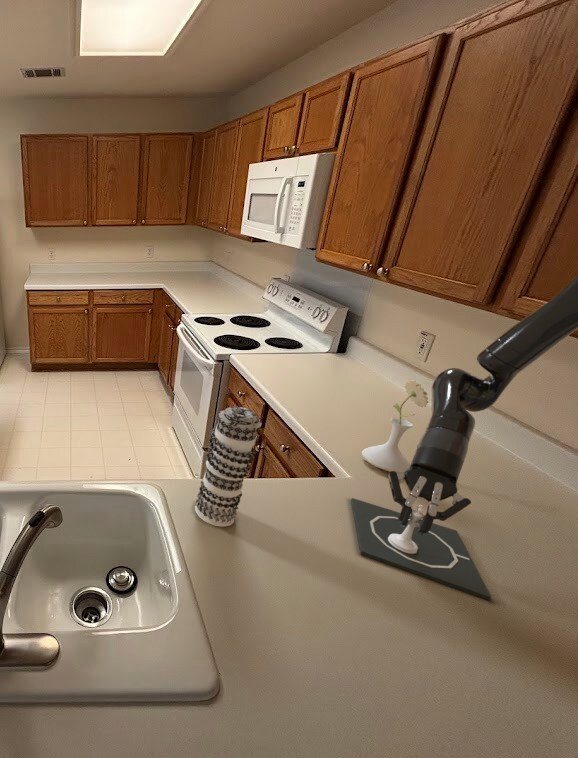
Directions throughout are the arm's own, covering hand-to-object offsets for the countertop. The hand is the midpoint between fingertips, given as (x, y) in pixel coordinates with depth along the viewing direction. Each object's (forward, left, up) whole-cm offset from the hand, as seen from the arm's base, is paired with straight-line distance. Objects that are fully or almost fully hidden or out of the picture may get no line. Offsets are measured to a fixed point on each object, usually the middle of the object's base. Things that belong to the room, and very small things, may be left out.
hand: (411, 529), depth 81 cm
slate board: (-3, -5, -6) cm, 8 cm away
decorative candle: (+35, +9, -6) cm, 37 cm away
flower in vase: (-3, -41, -6) cm, 41 cm away
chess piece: (0, -2, -6) cm, 6 cm away
